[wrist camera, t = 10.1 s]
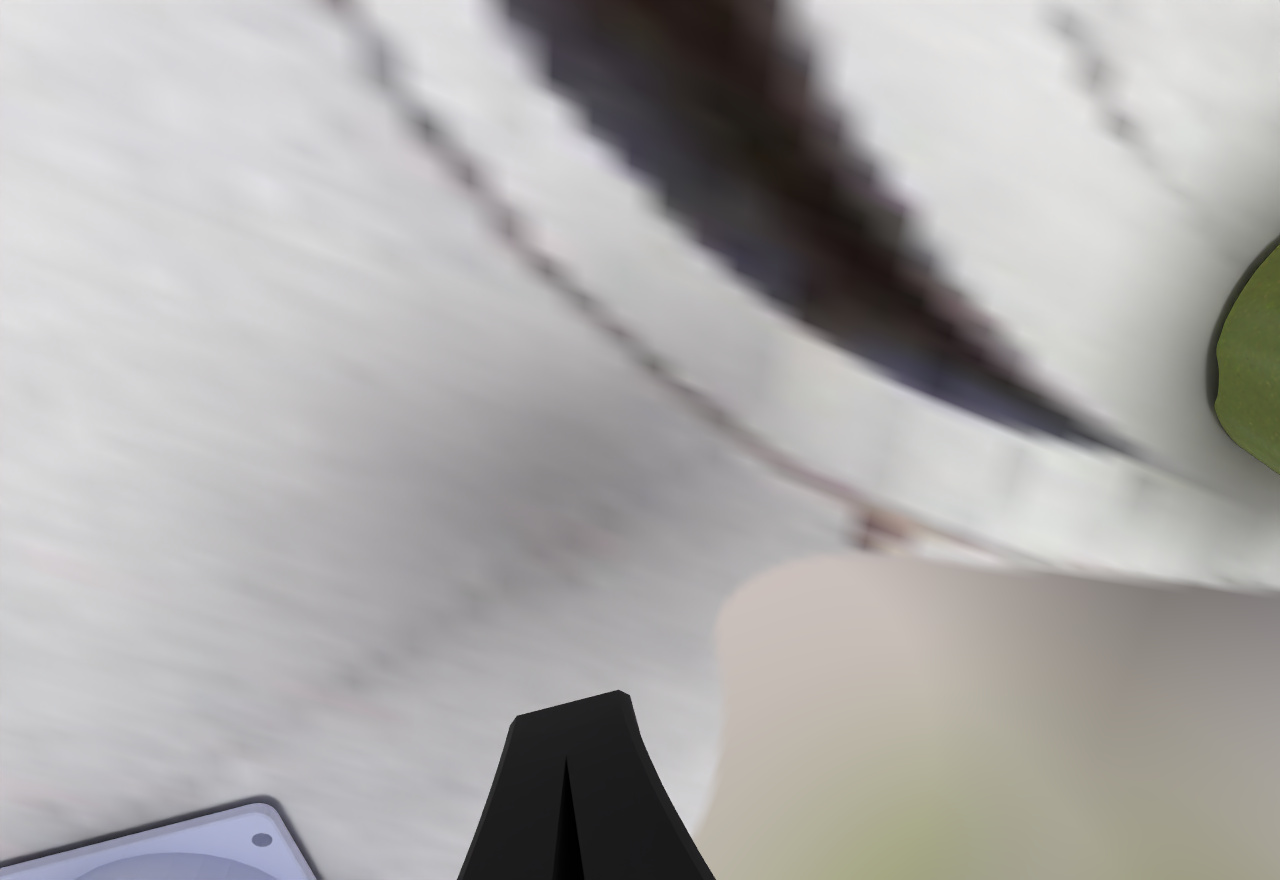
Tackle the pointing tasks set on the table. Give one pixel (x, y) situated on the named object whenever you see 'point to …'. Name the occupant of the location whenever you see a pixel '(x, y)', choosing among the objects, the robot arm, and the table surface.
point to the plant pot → (1253, 366)
